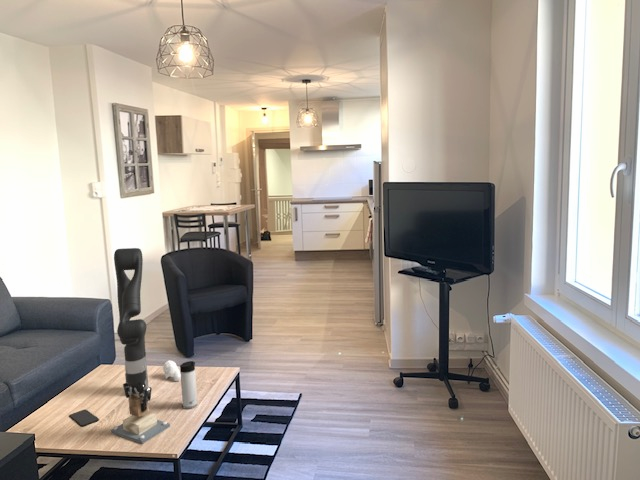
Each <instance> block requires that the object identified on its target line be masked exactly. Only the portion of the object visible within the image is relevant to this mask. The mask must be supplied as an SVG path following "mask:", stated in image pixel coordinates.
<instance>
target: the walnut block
mask: <svg viewBox="0 0 640 480" xmlns="http://www.w3.org/2000/svg"><path fill="white" fill-rule="evenodd" d="M140 395H142V394H140ZM147 398H148V397H147ZM142 399H144V397H142ZM128 407H129V415H130V416H131V415H133V416H137V417H140V416H142V415H143V414H145V413H147V412H148V413H150V412H149V411H150V410H149V401H148V402H147V410H146V411H144V412H141V402H140V399H139V398H138V397H137V394H136V395H133V396H132V397H129V398H128Z"/></svg>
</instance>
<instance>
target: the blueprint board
mask: <svg viewBox="0 0 640 480" xmlns="http://www.w3.org/2000/svg"><path fill="white" fill-rule="evenodd" d="M170 427H171V423H168V422H167V421H162V420H160V419H159V420H158V419H157V425H155V426H153V427H152V428H150V429H148V430H147V431H145V432H143V433H142V434H140V435H138V434H135V433H132V432H129V431H126V430H124V429H123V422H122V423H120V424H119V425H117V426H114V427H113V428H112V429H110V433H111V434H113V435H116V436H119V437H122V438H125V439H127V440H131V441H133V442H136V443H140V444H142V445H143V444H144V443H146V442H147V441H149V440H151V439H153V438H154V437H156V436H158V435H159V434H160V433H162V432H164V431H166V429H168V428H170Z"/></svg>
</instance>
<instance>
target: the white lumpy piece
mask: <svg viewBox="0 0 640 480" xmlns="http://www.w3.org/2000/svg"><path fill="white" fill-rule="evenodd" d="M162 369H163V373H164V374H165V380H168V379H169V377H171V378H173V381H175V382H181V374H180V368H178V365H177V363H176V362H175V361H174V360H166V362H165V363H163V366H162Z"/></svg>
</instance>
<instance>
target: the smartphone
mask: <svg viewBox="0 0 640 480" xmlns="http://www.w3.org/2000/svg"><path fill="white" fill-rule="evenodd" d="M68 417H69V418H70V419H71V420H72V421H74V422H75V423H76V424H77V425H78V426H80V427H82V428H85V427H87V426H90V425H93V424H96V423H97V422H99V421H100V418H99V417H97V416H96V415H94V414H93V413H91V412H90V411H88V409H82V410H79V411H76V412H73V413H71V414H69V415H68Z"/></svg>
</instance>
